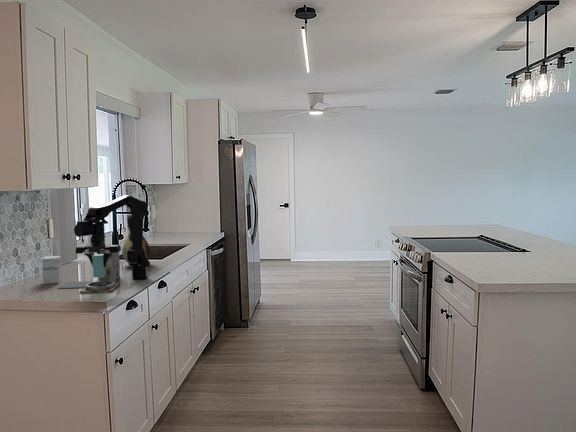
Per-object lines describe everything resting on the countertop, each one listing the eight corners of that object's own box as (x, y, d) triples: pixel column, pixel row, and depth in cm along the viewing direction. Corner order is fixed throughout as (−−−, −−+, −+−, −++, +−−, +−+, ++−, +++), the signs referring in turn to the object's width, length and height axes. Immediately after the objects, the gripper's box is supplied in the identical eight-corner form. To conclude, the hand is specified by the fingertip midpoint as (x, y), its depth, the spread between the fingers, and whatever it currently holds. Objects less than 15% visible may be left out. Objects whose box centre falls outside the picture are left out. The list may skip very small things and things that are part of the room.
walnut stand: (119, 284, 221) (119, 282, 221) (112, 292, 207) (112, 290, 207) (89, 285, 219) (89, 283, 219) (79, 293, 205) (79, 291, 205)
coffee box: (97, 279, 233) (95, 248, 231) (105, 276, 239) (104, 246, 237) (112, 280, 230) (111, 248, 229) (120, 277, 236) (119, 246, 235)
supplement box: (42, 284, 223) (41, 258, 222) (46, 281, 230) (44, 256, 229) (59, 283, 225) (57, 257, 224) (62, 279, 232) (60, 255, 231)
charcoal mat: (92, 282, 227) (92, 281, 227) (84, 288, 215) (84, 287, 215) (67, 282, 226) (67, 281, 226) (57, 288, 214) (57, 287, 214)
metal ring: (117, 285, 220) (117, 280, 220) (110, 291, 208) (110, 286, 207) (91, 286, 218) (90, 281, 218) (82, 292, 206) (82, 287, 206)
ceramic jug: (129, 263, 275) (127, 213, 272) (154, 263, 274) (152, 213, 271) (116, 268, 258) (114, 216, 256) (143, 269, 257) (141, 216, 254)
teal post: (106, 275, 215) (105, 254, 214) (103, 277, 210) (102, 255, 209) (96, 275, 214) (95, 254, 213) (93, 277, 210) (92, 255, 209)
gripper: (70, 237, 202) (72, 271, 203) (114, 236, 204) (115, 270, 205) (78, 233, 213) (80, 266, 214) (120, 232, 215) (121, 265, 216)
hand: (99, 267), depth 212 cm, fingers closed on teal post, 4 cm apart
